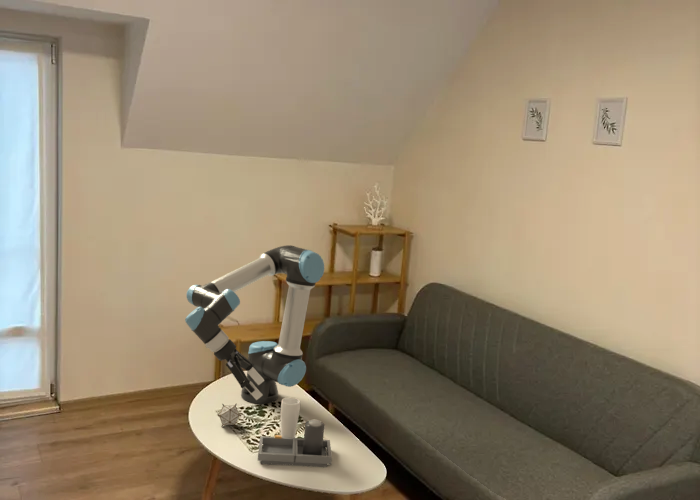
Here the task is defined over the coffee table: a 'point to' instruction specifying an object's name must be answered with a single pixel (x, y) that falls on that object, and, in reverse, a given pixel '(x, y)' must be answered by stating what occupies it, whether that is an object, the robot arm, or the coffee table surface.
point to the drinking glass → (289, 416)
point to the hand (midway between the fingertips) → (260, 389)
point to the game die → (229, 415)
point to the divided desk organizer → (297, 448)
